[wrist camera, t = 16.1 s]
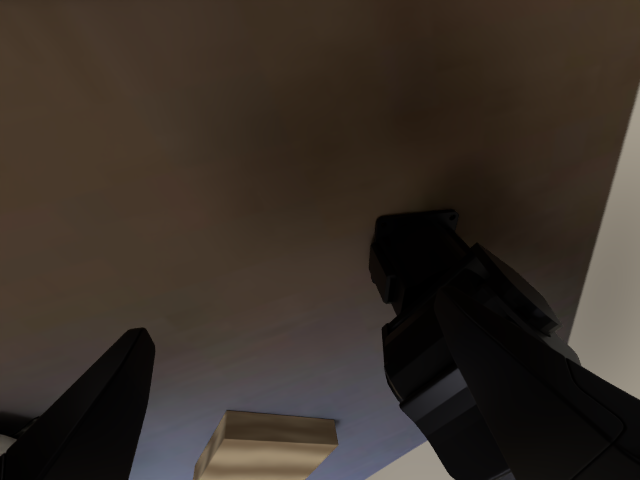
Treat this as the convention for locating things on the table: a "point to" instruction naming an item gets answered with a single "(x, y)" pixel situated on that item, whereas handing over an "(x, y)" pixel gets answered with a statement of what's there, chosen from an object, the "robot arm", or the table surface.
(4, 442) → the coffee press
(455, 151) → the table surface
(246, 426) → the oak stand
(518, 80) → the table surface
